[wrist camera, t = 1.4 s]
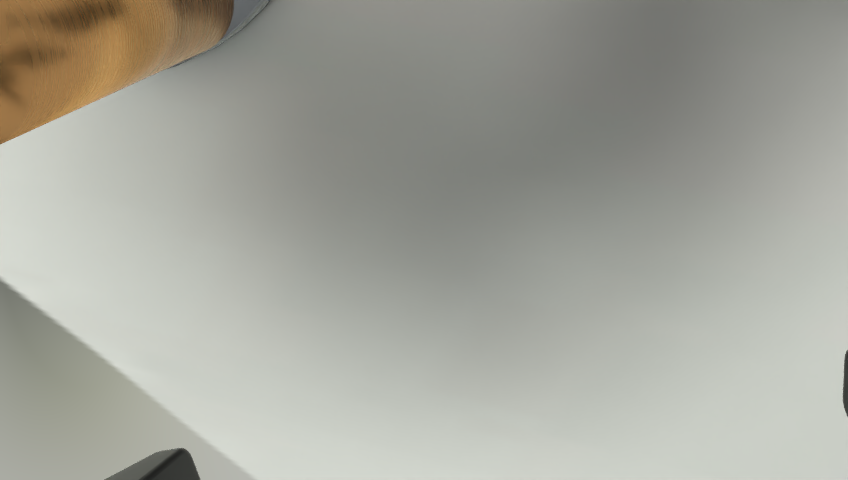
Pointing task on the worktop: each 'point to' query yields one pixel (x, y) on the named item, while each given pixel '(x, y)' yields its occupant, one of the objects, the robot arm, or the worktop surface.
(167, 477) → the robot arm
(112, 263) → the worktop surface
